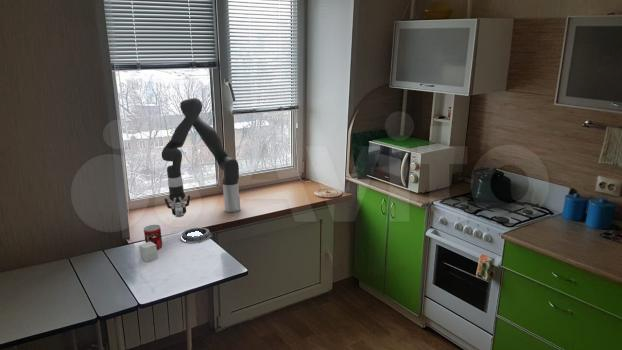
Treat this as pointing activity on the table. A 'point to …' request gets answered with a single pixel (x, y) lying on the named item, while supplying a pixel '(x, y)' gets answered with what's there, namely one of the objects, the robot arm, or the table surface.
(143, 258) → the product box
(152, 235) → the canned food
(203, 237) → the ring
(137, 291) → the table surface
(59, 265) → the table surface
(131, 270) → the table surface
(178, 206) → the piston
